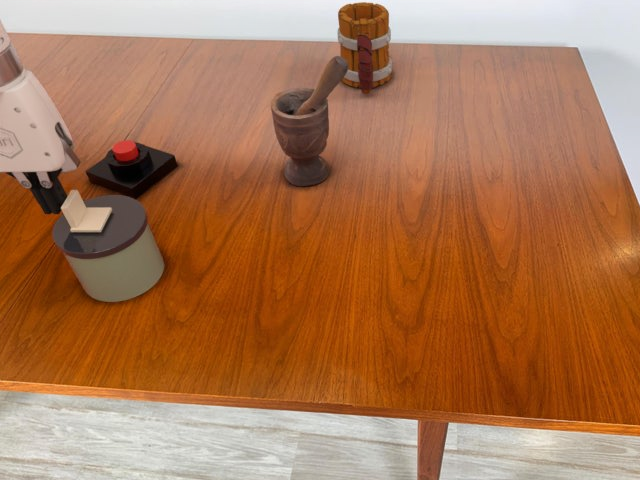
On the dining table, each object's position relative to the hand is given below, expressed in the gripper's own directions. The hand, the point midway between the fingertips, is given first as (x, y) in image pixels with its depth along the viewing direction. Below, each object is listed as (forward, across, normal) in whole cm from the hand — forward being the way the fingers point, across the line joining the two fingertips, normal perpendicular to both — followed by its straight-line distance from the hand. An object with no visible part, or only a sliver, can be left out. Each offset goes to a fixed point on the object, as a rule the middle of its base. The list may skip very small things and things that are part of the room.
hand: (57, 207), depth 73 cm
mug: (+12, +37, +53) cm, 66 cm away
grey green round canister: (+12, +4, 0) cm, 13 cm away
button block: (+12, -1, +23) cm, 26 cm away
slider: (+2, +4, 0) cm, 4 cm away
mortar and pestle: (+12, +29, +23) cm, 39 cm away
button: (+8, -1, +23) cm, 24 cm away
